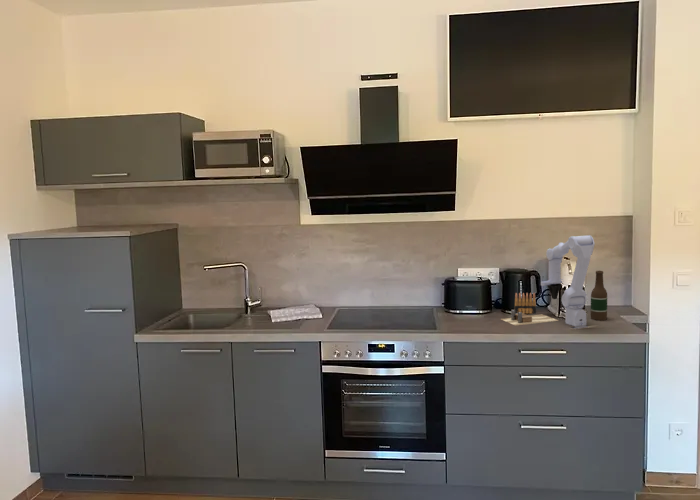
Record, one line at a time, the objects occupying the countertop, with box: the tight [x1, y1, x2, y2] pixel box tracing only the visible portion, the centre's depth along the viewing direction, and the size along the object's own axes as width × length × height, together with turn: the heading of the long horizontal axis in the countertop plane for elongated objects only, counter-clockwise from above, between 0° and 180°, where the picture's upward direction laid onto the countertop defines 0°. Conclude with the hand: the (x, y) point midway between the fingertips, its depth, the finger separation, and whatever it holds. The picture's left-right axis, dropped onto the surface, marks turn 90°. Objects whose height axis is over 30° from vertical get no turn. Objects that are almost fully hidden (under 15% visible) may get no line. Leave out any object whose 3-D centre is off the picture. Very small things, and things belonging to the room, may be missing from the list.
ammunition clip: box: [514, 292, 537, 315], centre depth 303 cm, size 11×2×12 cm, turn 78°
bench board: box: [500, 313, 559, 326], centre depth 289 cm, size 14×24×1 cm, turn 106°
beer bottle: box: [590, 270, 608, 322], centre depth 289 cm, size 8×8×24 cm
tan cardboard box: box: [515, 313, 532, 323], centre depth 288 cm, size 8×5×2 cm, turn 16°
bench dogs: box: [510, 308, 522, 323], centre depth 287 cm, size 8×2×6 cm, turn 16°
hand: (554, 298), depth 296 cm, fingers closed
